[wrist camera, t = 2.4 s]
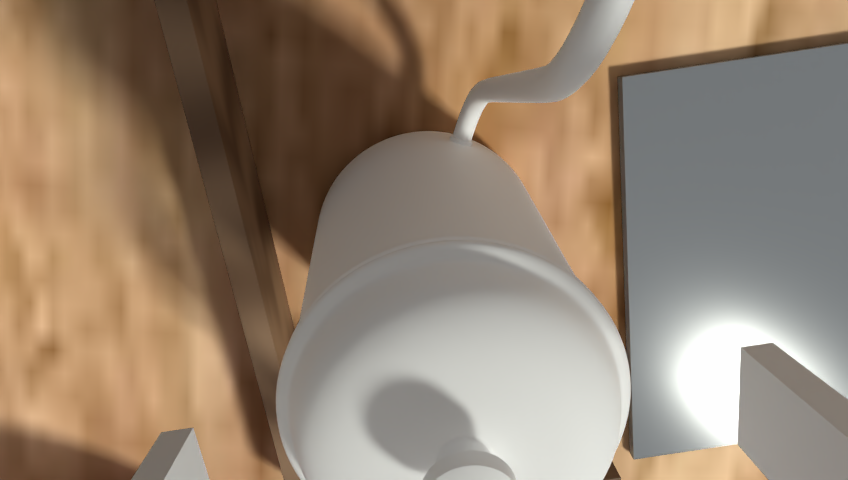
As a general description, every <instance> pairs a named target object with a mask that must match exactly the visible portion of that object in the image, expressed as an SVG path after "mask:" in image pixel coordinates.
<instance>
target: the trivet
mask: <svg viewBox="0 0 848 480" xmlns="http://www.w3.org/2000/svg"><path fill="white" fill-rule="evenodd" d="M618 105H619V136H620V166H621V197H622V228H623V259H624V290H625V321H626V352H627V359H628V364H629V370H630V380H631V397H630V407H629V444H630V454H631V456H632V457H633V459H640V458H647V457H653V456H660V455H667V454H674V453H680V452H687V451H694V450H700V449H707V448H714V447H721V446H727V445H734V444H738V413H739V381H740V350H741V347H746V346H753V345H760V344H767V343H774V344H775V345H776V346H778V347H779V348H780V349H782V350H783V351H784V352H786V353H787V354H788V355H790V356H791V357H792V358H794V359H795V360H796V361H798V362H799V363H800V364H802V365H803V366H804V367H805V368H807V369H808V370H809V371H811V372H812V373H813V374H815V375H816V376H817V377H819V378H820V379H821V380H823V381H824V382H825V383H827V384H828V385H829V386H830V387H832V388H833V389H834V390H836V391H837V392H838V393H840V394H841V395H842V396H844V397H845V398H846V399H848V42H847V43H840V44H834V45H827V46H820V47H814V48H807V49H800V50H793V51H787V52H780V53H773V54H767V55H760V56H753V57H747V58H740V59H733V60H727V61H720V62H713V63H706V64H700V65H693V66H686V67H680V68H673V69H666V70H660V71H653V72H646V73H640V74H633V75H626V76H619V77H618Z"/></svg>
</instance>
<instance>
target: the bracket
mask: <svg viewBox="0 0 848 480" xmlns="http://www.w3.org/2000/svg"><path fill="white" fill-rule="evenodd" d="M154 1H155V4H156V8H157V12H158V16H159V19H160V23H161V27H162V30H163V34H164V38H165V41H166V45H167V49H168V53H169V56H170V60H171V64H172V67H173V71H174V75H175V79H176V82H177V86H178V90H179V93H180V97H181V101H182V104H183V108H184V112H185V116H186V119H187V123H188V127H189V130H190V134H191V138H192V141H193V145H194V149H195V153H196V156H197V160H198V164H199V167H200V171H201V175H202V178H203V182H204V186H205V190H206V193H207V197H208V201H209V204H210V208H211V212H212V216H213V219H214V223H215V227H216V230H217V234H218V238H219V241H220V245H221V249H222V253H223V256H224V260H225V264H226V267H227V271H228V275H229V278H230V282H231V286H232V290H233V293H234V297H235V301H236V304H237V308H238V312H239V315H240V319H241V323H242V327H243V330H244V334H245V338H246V341H247V345H248V349H249V353H250V356H251V360H252V364H253V367H254V371H255V375H256V378H257V382H258V386H259V390H260V393H261V397H262V401H263V404H264V408H265V412H266V415H267V419H268V423H269V427H270V430H271V434H272V438H273V441H274V445H275V449H276V452H277V456H278V460H279V464H280V467H281V471H282V475H283V478H284V480H300V478H299V477H298V475H297V474H296V472H295V470H294V469H293V467H292V465H291V463H290V461H289V459H288V457H287V455H286V452H285V449H284V447H283V444H282V440H281V437H280V433H279V428H278V422H277V415H276V388H277V380H278V375H279V370H280V366H281V362H282V359H283V356H284V354H285V351H286V349H287V346H288V343H289V341H290V339H291V336H292V334H293V332H294V326H293V322H292V318H291V314H290V310H289V305H288V301H287V297H286V293H285V289H284V284H283V280H282V276H281V272H280V268H279V263H278V259H277V255H276V251H275V247H274V242H273V238H272V234H271V230H270V226H269V221H268V217H267V213H266V209H265V205H264V200H263V196H262V192H261V188H260V184H259V179H258V175H257V171H256V167H255V163H254V159H253V154H252V150H251V146H250V142H249V138H248V133H247V129H246V125H245V121H244V117H243V112H242V108H241V104H240V100H239V96H238V91H237V87H236V83H235V79H234V75H233V70H232V66H231V62H230V58H229V54H228V49H227V45H226V41H225V37H224V33H223V28H222V24H221V20H220V16H219V12H218V7H217V3H216V0H154ZM603 480H621V477H620V476H619V474H618V472H617V470H616V468H615V466H614V464H613V462H611V465H610V467H609V469H608V471H607V473H606V475H605V477H604V479H603Z"/></svg>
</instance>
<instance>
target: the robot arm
mask: <svg viewBox="0 0 848 480" xmlns="http://www.w3.org/2000/svg"><path fill="white" fill-rule="evenodd" d="M738 445H739V447H740V448H741V449H742V450H743V451H744V452H745V453H746V455H747V456H748V457H749V458H750V459H751V460H752V461H753V463H754V464H755V465H756V466H757V467H758V468H759V469H760V471H761V472H762V473H763V474H764V475H765V476H766V477H767V479H768V480H848V399H846V398H845V397H844V396H842V395H841V394H840V393H838V392H837V391H836V390H834V389H833V388H832V387H830V386H829V385H828V384H827V383H825V382H824V381H823V380H821V379H820V378H819V377H817V376H816V375H815V374H813V373H812V372H811V371H809V370H808V369H807V368H805V367H804V366H803V365H802V364H800V363H799V362H798V361H796V360H795V359H794V358H792V357H791V356H790V355H788V354H787V353H786V352H784V351H783V350H782V349H780V348H779V347H778V346H776V345H775V344H774V343H767V344H760V345H753V346H746V347H741V350H740V381H739V413H738ZM131 480H209V477H208V473H207V470H206V467H205V464H204V461H203V457H202V454H201V451H200V448H199V445H198V441H197V438H196V435H195V432H194V429H193V428H187V429H180V430H174V431H167V432H161V434H160V435H159V437H158V438H157V440H156V441H155V443H154V445H153V446H152V448H151V449H150V451H149V452H148V454H147V456H146V457H145V459H144V460H143V462H142V463H141V465H140V467H139V468H138V470H137V471H136V473H135V474H134V476H133V477H132V479H131Z"/></svg>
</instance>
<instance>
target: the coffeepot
mask: <svg viewBox="0 0 848 480" xmlns="http://www.w3.org/2000/svg"><path fill="white" fill-rule="evenodd" d="M633 2H634V0H585V1H584V3H583V6H582V8H581V10H580V12H579V15H578V17H577V19H576V21H575V23H574V25H573V27H572V29H571V31H570V33H569V35H568V36H567V38H566V40H565V42H564V44H563V45H562V47H561V48H560V50H559V52H558V53H557V55H556V56H555V57H554V58H553V59H552V61H551V62H550V63H549V64H547V65H546V66H543V67H539V68H535V69H531V70H526V71H521V72H516V73H511V74H506V75H501V76H497V77H492V78H488V79H485V80H482V81H480V82H478V83H477V84H476V85H475V86H474V87H473V88H472V89H471V91H470V92H469V94H468V96H467V98H466V100H465V102H464V104H463V107H462V109H461V112H460V114H459V117H458V120H457V123H456V126H455V129H454V133H453V134H451V133H446V132H438V131H419V132H410V133H405V134H401V135H397V136H394V137H391V138H388V139H385V140H383V141H381V142H379V143H377V144H375V145H373V146H371V147H369V148H368V149H366V150H365V151H363V152H362V153H361V154H359V155H358V156H357V157H355V158H354V159H353V160H352V161H351V162H350V163H349V164H348V165H347V166H346V167H345V168H344V169H343V170H342V171H341V173H340V174H339V175H338V176H337V178H336V179H335V181H334V182H333V184H332V186H331V187H330V189H329V191H328V193H327V195H326V197H325V200H324V202H323V205H322V208H321V211H320V215H319V220H318V225H317V231H316V236H315V241H314V246H313V252H312V257H311V262H310V267H309V273H308V278H307V283H306V289H305V294H304V299H303V304H302V310H301V315H300V320H299V323H298V324H297V326H296V328H295V330H294V332H293V334H292V336H291V339H290V341H289V343H288V346H287V349H286V351H285V354H284V356H283V359H282V362H281V366H280V370H279V375H278V380H277V388H276V415H277V422H278V428H279V433H280V437H281V440H282V444H283V447H284V449H285V452H286V455H287V457H288V459H289V461H290V463H291V465H292V467H293V469H294V470H295V472H296V474H297V475H298V477H299V478H300V480H603V479H604V477H605V475H606V473H607V471H608V469H609V467H610V465H611V462H612V460H613V457H614V454H615V451H616V449H617V447H618V445H619V443H620V440H621V438H622V435H623V432H624V429H625V426H626V422H627V418H628V413H629V407H630V397H631V380H630V370H629V364H628V359H627V355H626V351H625V348H624V344H623V342H622V339H621V337H620V334H619V332H618V330H617V328H616V326H615V324H614V322H613V320H612V319H611V317H610V315H609V314H608V312H607V311H606V309H605V308H604V307H603V305H602V304H601V303H600V302H599V300H598V299H597V298H596V297H595V296H594V294H593V293H592V292H591V291H590V290H589V289H588V288H587V287H586V286H585V285H584V284H583V283H582V282H581V281H580V280H579V279H578V278H577V277H576V276H575V275H574V273H573V271H572V269H571V268H570V266H569V264H568V262H567V261H566V259H565V257H564V255H563V254H562V252H561V250H560V248H559V246H558V245H557V243H556V241H555V239H554V238H553V236H552V234H551V232H550V231H549V229H548V227H547V225H546V224H545V222H544V220H543V218H542V216H541V215H540V213H539V211H538V209H537V208H536V206H535V204H534V202H533V201H532V199H531V197H530V195H529V194H528V192H527V190H526V188H525V187H524V185H523V183H522V181H521V180H520V178H519V177H518V176H517V174H516V173H515V172H514V170H513V169H512V168H511V167H510V166H509V165H508V164H507V163H506V162H505V161H504V160H503V159H502V158H501V157H499V156H498V155H497V154H496V153H494V152H493V151H492V150H490V149H489V148H487V147H485V146H484V145H482V144H480V143H478V142H476V141H474V140H472V137H473V134H474V131H475V128H476V125H477V123H478V120H479V118H480V115H481V113H482V111H483V109H484V108H485V106H486V104H487V103H488V102H518V103H547V102H557V101H560V100H563V99H565V98H567V97H569V96H570V95H571V94H573V93H574V92H576V91H577V90H578V89H579V88H580V87H581V86H582V85H583V84H584V83H585V82H586V81H587V80H588V79H589V78H590V77H591V76H592V75H593V73H594V72H595V71H596V70H597V68H598V67H599V65H600V64H601V62H602V61H603V59H604V58H605V56H606V55H607V53H608V51H609V50H610V48H611V46H612V44H613V43H614V41H615V39H616V37H617V35H618V34H619V32H620V30H621V28H622V26H623V24H624V22H625V20H626V18H627V16H628V14H629V11H630V9H631V7H632V5H633Z"/></svg>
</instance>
